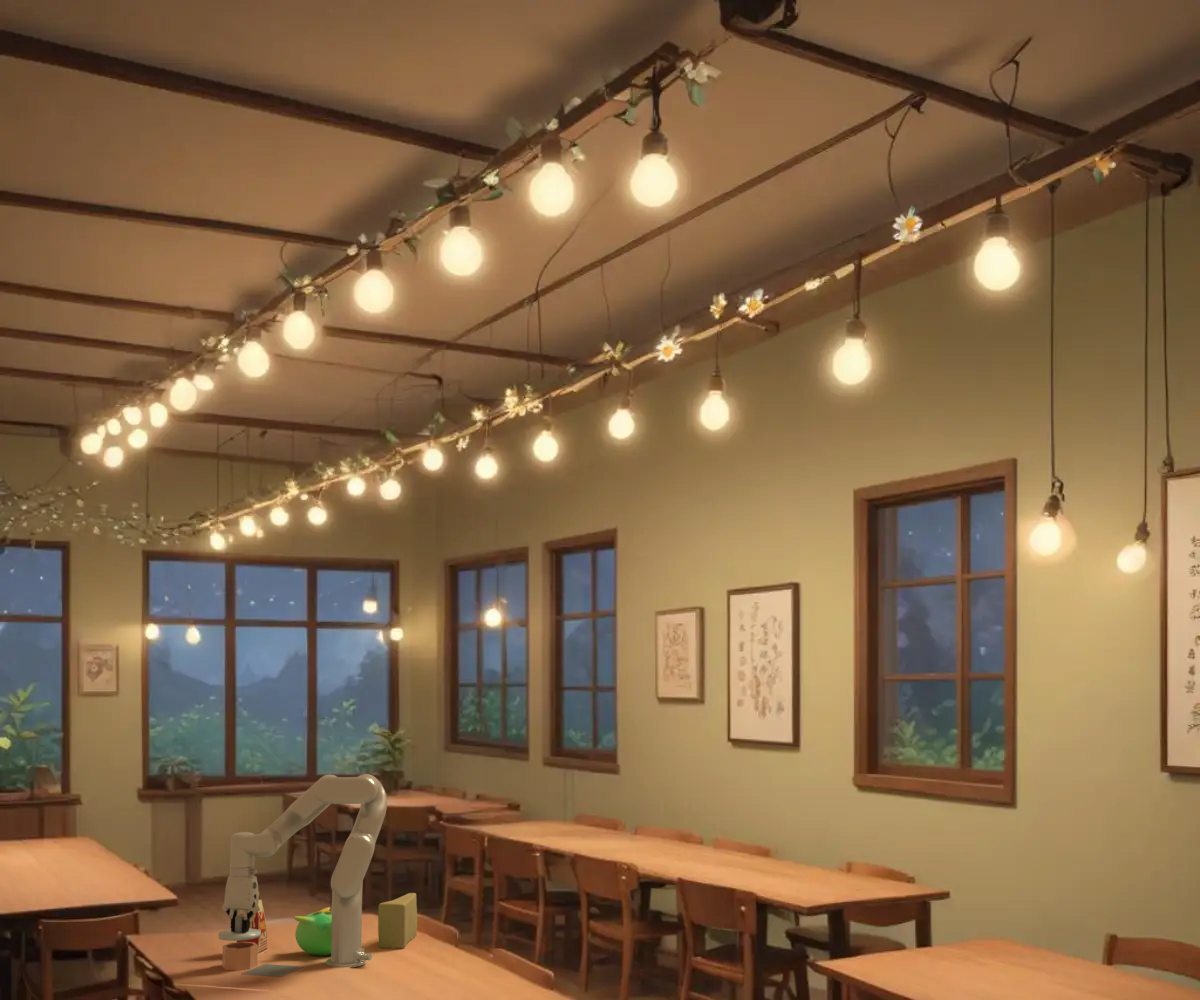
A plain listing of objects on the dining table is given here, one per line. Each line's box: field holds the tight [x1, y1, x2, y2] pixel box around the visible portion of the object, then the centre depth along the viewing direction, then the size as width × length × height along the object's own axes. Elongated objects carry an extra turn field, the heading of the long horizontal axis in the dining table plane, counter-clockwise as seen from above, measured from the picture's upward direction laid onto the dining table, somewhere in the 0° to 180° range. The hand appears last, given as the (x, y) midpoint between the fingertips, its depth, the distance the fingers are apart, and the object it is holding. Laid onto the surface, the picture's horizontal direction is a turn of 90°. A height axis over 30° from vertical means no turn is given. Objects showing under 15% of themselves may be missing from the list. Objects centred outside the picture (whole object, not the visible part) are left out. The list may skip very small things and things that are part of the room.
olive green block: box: [377, 892, 418, 950], centre depth 455 cm, size 22×10×15 cm, turn 166°
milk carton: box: [236, 891, 269, 956], centre depth 438 cm, size 9×9×20 cm
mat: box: [241, 963, 303, 978], centre depth 411 cm, size 14×14×1 cm
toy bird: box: [293, 906, 332, 956], centre depth 435 cm, size 18×17×15 cm
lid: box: [217, 914, 261, 942], centre depth 418 cm, size 13×13×6 cm
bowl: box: [221, 941, 258, 971], centre depth 417 cm, size 10×10×7 cm
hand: (239, 931), depth 418 cm, fingers closed on lid, 3 cm apart
